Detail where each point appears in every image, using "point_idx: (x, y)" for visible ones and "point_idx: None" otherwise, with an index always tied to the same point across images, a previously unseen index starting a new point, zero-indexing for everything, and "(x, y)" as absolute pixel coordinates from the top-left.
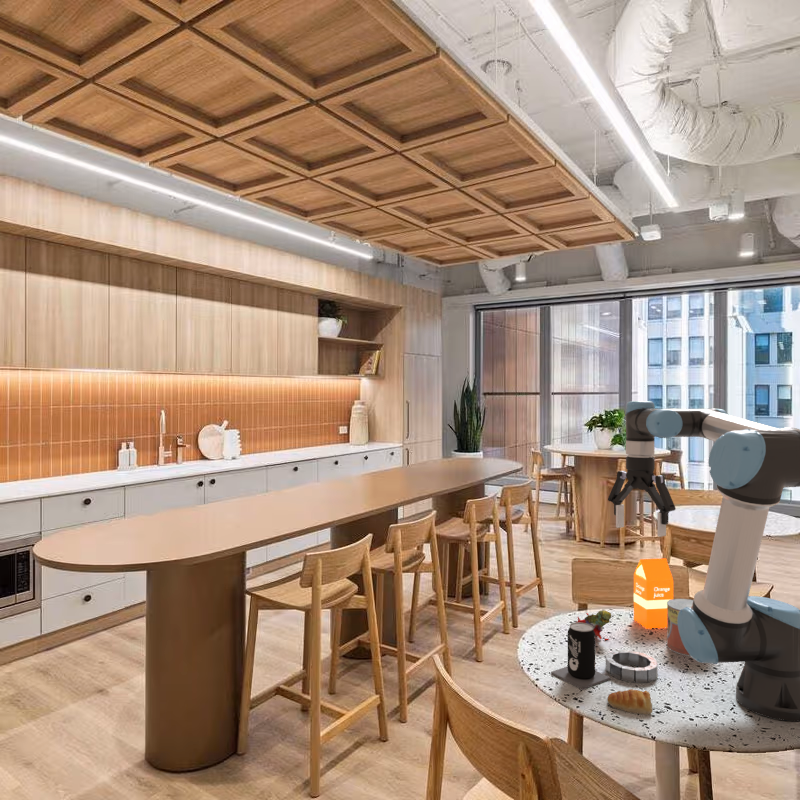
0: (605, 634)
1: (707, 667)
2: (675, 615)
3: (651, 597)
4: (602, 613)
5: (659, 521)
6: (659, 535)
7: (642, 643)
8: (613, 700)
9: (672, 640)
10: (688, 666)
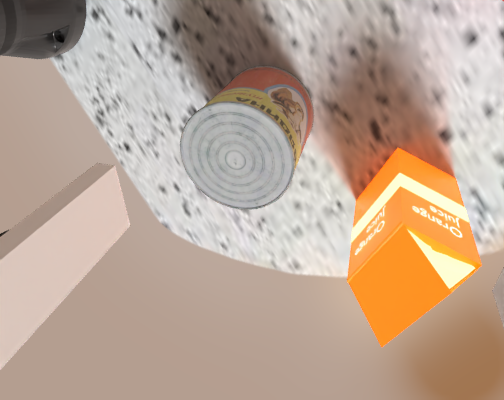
0: (472, 13)
1: (184, 47)
2: (244, 96)
3: (390, 202)
4: None
5: (10, 234)
6: (95, 168)
7: (353, 48)
8: None
9: (274, 76)
10: (206, 13)
